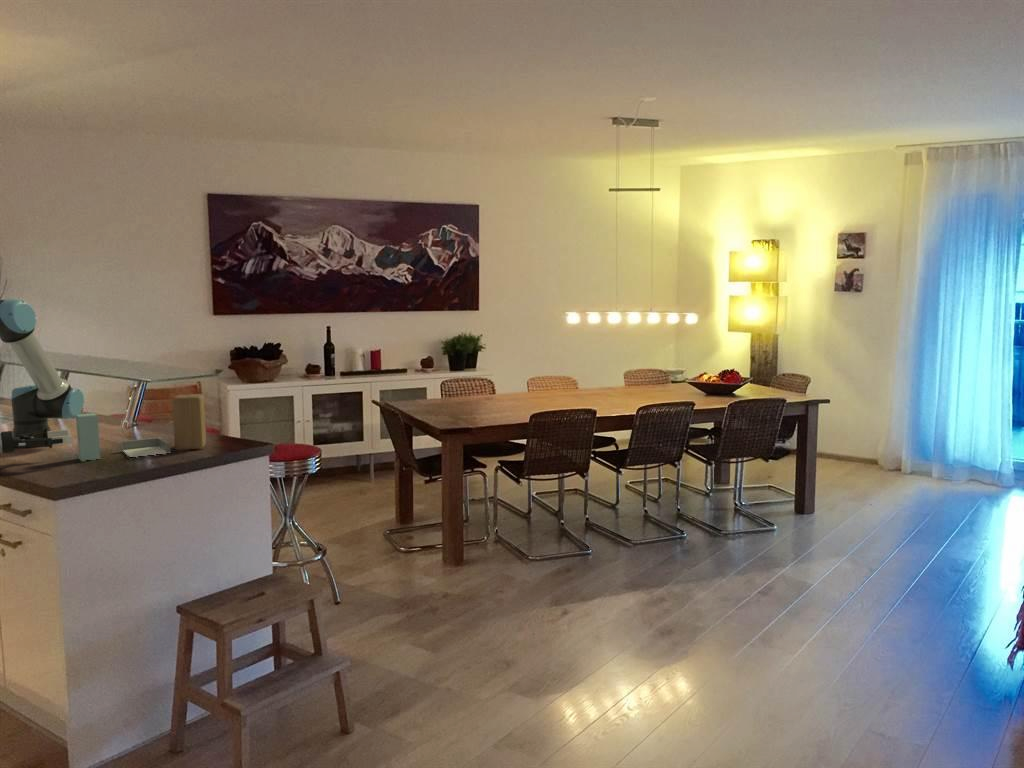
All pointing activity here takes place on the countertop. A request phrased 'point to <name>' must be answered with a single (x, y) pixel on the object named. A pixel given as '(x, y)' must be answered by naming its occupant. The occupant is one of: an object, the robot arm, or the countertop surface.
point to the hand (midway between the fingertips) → (70, 436)
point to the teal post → (88, 436)
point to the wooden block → (189, 421)
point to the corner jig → (145, 447)
